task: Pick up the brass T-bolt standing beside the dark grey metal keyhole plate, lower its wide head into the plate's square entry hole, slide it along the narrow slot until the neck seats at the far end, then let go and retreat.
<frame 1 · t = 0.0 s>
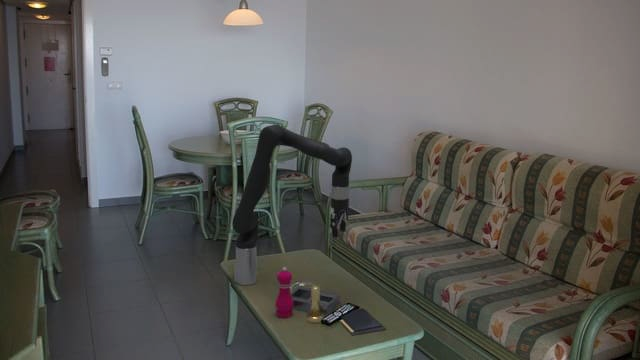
hand: (339, 234, 234), 29 cm above the table, fingers open, 8 cm apart
bolt: (314, 319, 221), on the table
pepper mill: (284, 314, 226), on the table
keyhole plate: (313, 304, 235), on the table
wallet: (358, 323, 221), on the table
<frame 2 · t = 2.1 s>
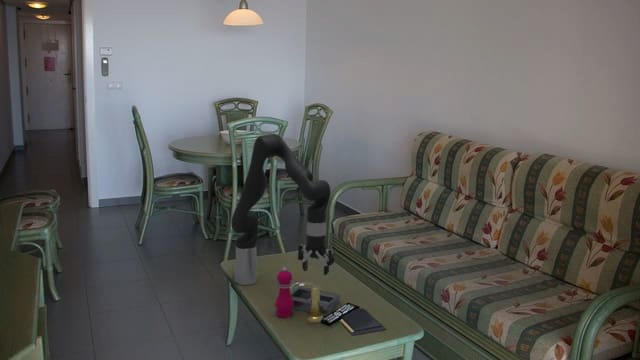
hand: (315, 272, 217), 20 cm above the table, fingers open, 8 cm apart
nothing on the table moved.
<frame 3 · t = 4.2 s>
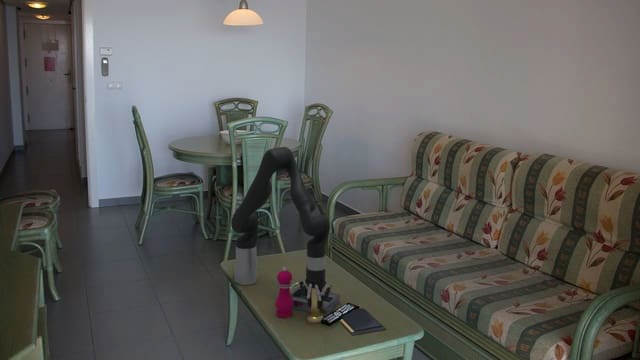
hand: (315, 307, 220), 5 cm above the table, fingers closed on bolt, 3 cm apart
bolt: (314, 319, 221), on the table, touching gripper
everything else where it was.
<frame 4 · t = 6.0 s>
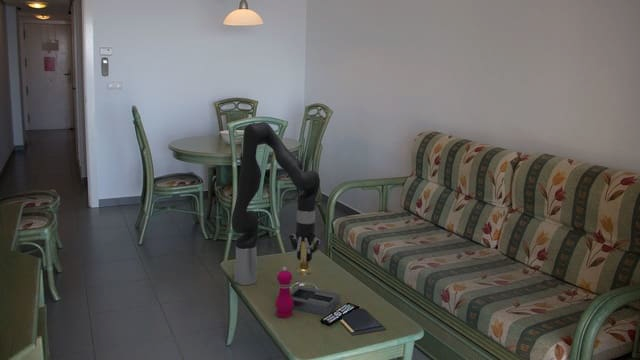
hand: (304, 260, 229), 20 cm above the table, fingers closed on bolt, 3 cm apart
bolt: (303, 272, 231), point 15 cm above the table, touching gripper
everything else where it was.
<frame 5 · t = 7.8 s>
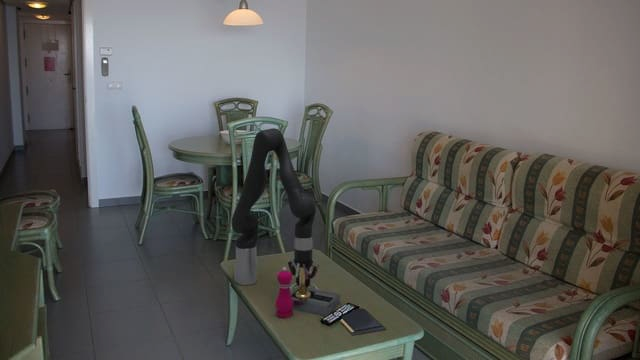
hand: (303, 285, 235), 8 cm above the table, fingers closed on bolt, 3 cm apart
bolt: (303, 297, 236), point 2 cm above the table, touching gripper
everything else where it was.
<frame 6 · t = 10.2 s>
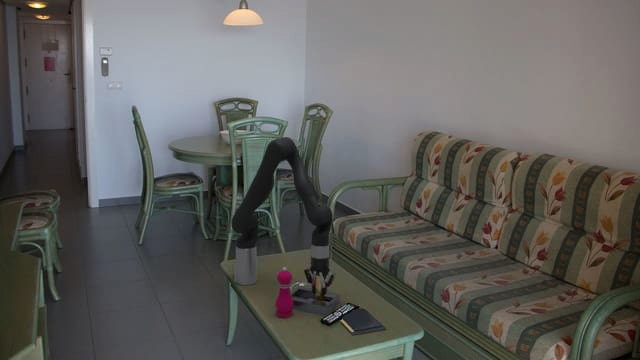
hand: (319, 293, 232), 5 cm above the table, fingers closed on bolt, 3 cm apart
bolt: (319, 305, 233), resting in keyhole plate, touching gripper
everything else where it was.
when the fingers open (5 cm above the table, at t = 11.8 s): bolt stays where it is, resting in keyhole plate.
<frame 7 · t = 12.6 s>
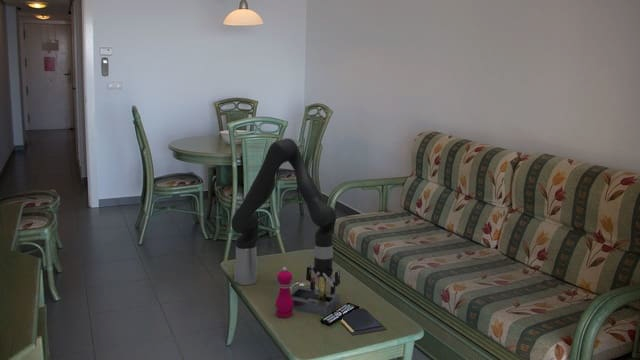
hand: (322, 292, 232), 6 cm above the table, fingers open, 8 cm apart
bolt: (322, 306, 233), resting in keyhole plate
everything else where it was.
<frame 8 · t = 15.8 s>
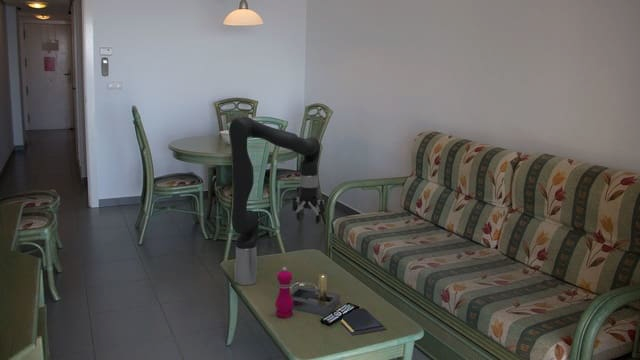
hand: (308, 221, 241), 32 cm above the table, fingers open, 8 cm apart
nothing on the table moved.
at the end: bolt 0.9 cm from the target spot on the keyhole plate, point 0.0 cm above the keyhole plate's base; bolt tilted 0°; the gripper is holding nothing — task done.
